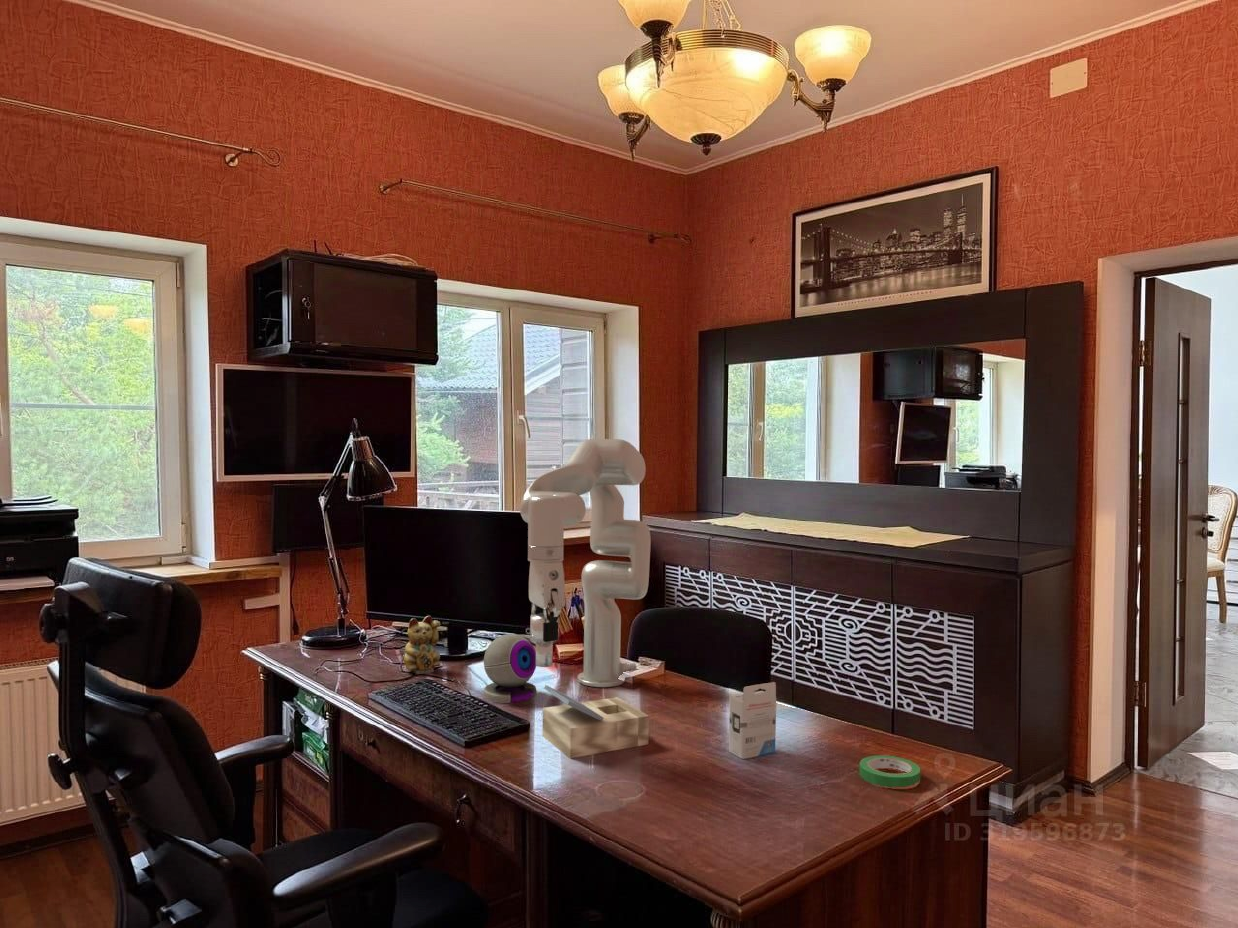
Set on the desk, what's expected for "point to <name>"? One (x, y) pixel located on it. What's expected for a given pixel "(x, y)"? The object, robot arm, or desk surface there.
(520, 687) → the webcam
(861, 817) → the desk surface
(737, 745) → the ink box
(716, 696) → the desk surface
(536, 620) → the light bulb
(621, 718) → the block
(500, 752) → the desk surface
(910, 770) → the tape roll
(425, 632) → the decorative figurine
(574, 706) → the plate
